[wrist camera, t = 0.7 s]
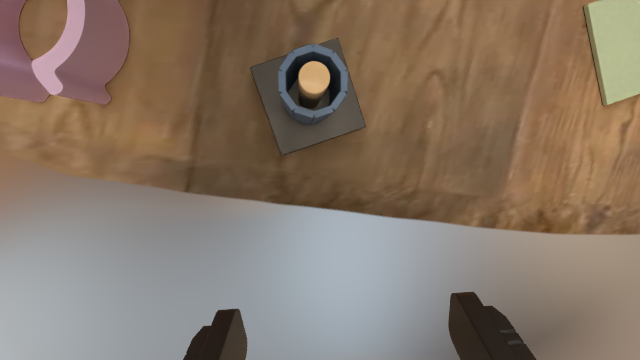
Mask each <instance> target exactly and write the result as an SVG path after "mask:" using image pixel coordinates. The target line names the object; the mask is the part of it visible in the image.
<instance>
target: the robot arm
mask: <svg viewBox="0 0 640 360" xmlns="http://www.w3.org/2000/svg"><path fill="white" fill-rule="evenodd" d="M449 332H450V336H451V339H452V342H453V344H454V346H455V349H456V351H457V353H458V355H459V357H460V359H461V360H536V358H535V357H534V356H533V354H532V353H531V351H530V350H529V349H528V347H527V346H526V344H524V343H523V340H522V339H521V338H520V336H519V335H518V333H516V331H515V329H514V327H513V326H512V325H511V323H510V322H509V320H508V319H507V318H506V316H504V315H503V314H502V313H500V312H499V311H498V310H497V309H495V308H494V307H493V306H483V304H482V303H481V301H480V300H479V298H478V297H477V295H476V294H475V293H474V292H463V293H452V294H451V298H450V311H449ZM246 353H247V337H246V333H245V329H244V325H243V321H242V318H241V313H240V310H239V309H229V310H218V311H217V313H216V315H215V317H214V320H213V322H212V325H211V326H203V327H202V329H201V330H200V331H199V332H198V333H197V334H196V336H195V337H194V338H193V339H192V341H191V344H190V346H189V348H188V350H187V354H186V355H185V357H184V359H183V360H245V358H246Z"/></svg>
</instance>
